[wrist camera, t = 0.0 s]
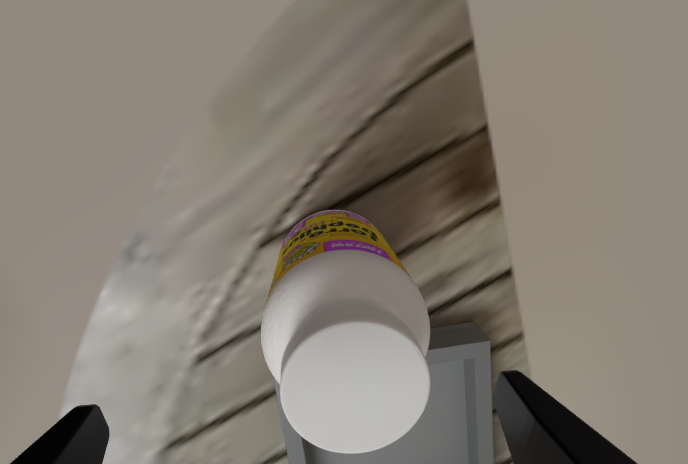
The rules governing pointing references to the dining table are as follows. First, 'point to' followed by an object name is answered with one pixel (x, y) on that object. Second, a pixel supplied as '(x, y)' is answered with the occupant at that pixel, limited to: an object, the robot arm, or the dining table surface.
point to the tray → (431, 410)
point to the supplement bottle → (346, 335)
